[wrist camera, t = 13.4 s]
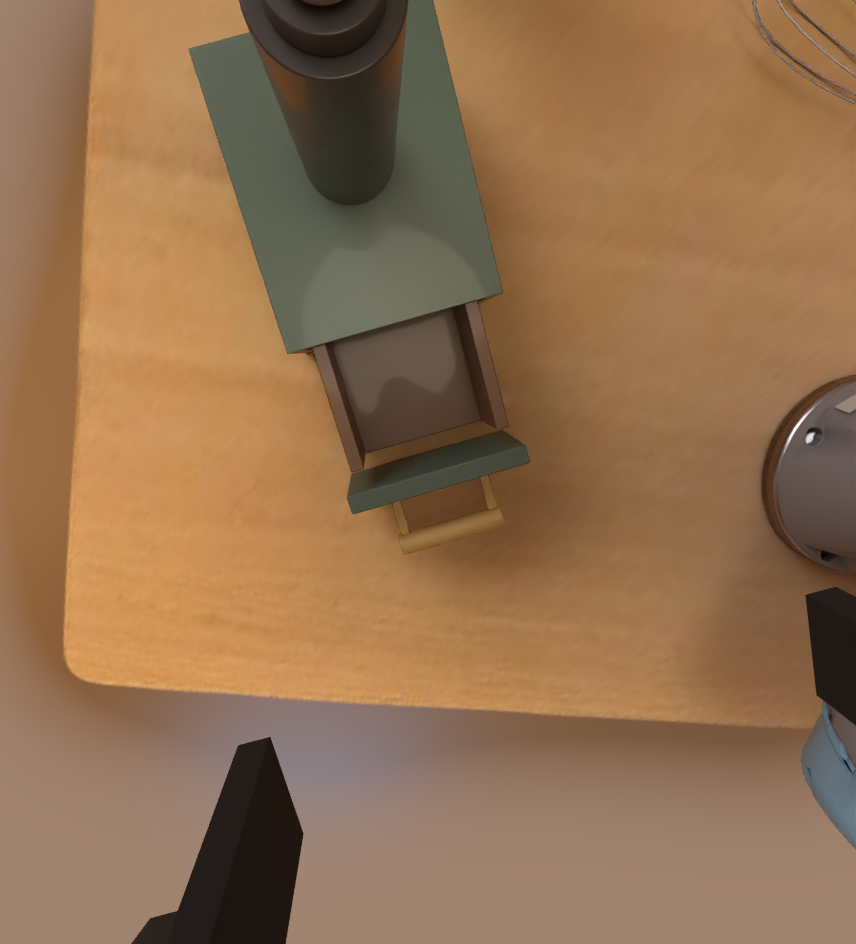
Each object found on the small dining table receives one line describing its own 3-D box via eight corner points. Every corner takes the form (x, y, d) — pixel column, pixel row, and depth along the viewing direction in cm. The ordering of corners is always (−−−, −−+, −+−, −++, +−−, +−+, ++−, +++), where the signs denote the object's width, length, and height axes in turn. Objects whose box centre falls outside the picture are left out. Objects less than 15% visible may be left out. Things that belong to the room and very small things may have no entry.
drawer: (520, 500, 44) (546, 527, 37) (373, 543, 44) (372, 578, 37) (455, 242, 40) (471, 220, 33) (292, 287, 40) (275, 275, 33)
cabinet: (477, 304, 42) (503, 292, 33) (305, 353, 41) (287, 354, 33) (417, 63, 38) (429, -17, 30) (229, 115, 38) (187, 48, 30)
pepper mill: (404, 192, 32) (440, -10, 14) (318, 216, 32) (244, 44, 14) (379, 96, 31) (382, -253, 13) (290, 120, 31) (170, -198, 13)
